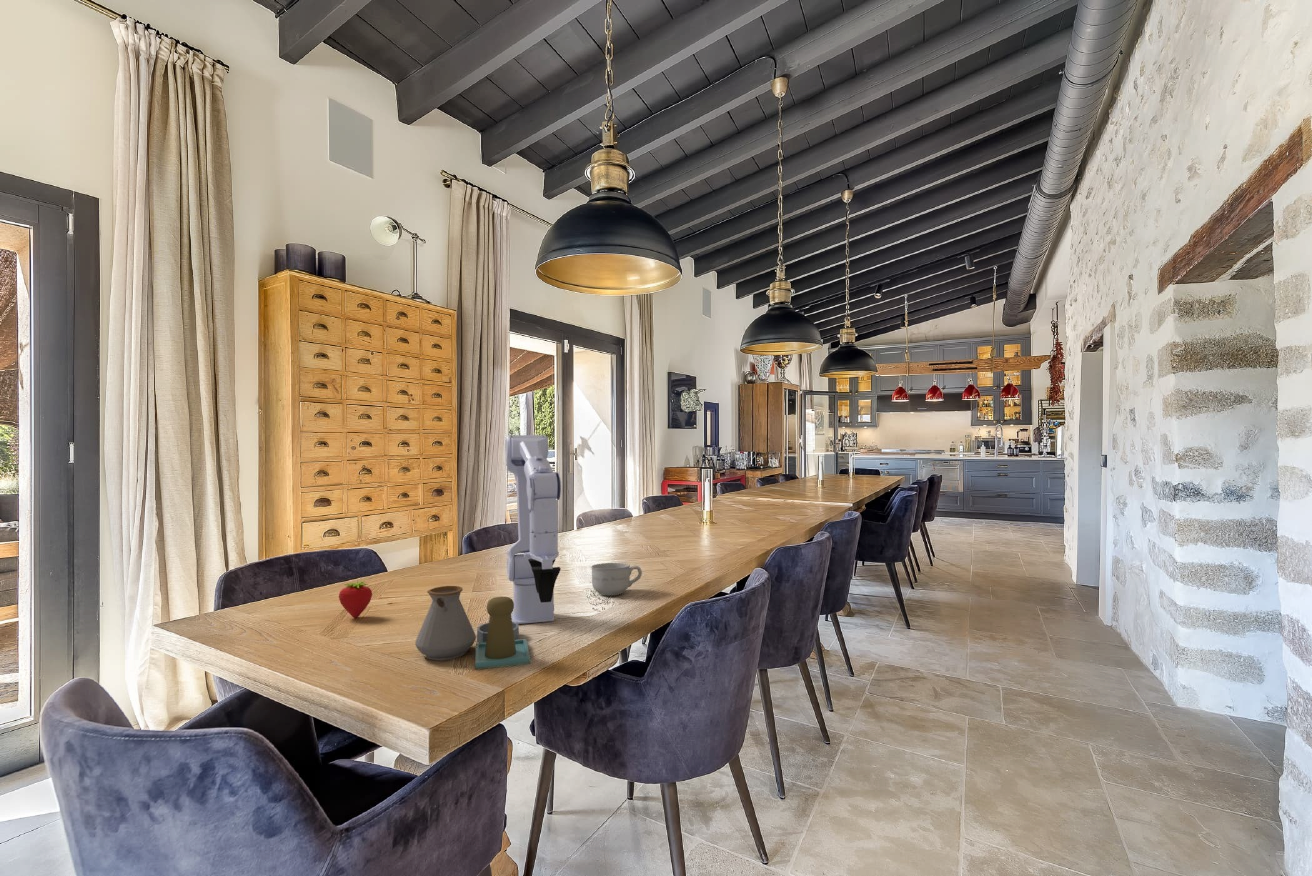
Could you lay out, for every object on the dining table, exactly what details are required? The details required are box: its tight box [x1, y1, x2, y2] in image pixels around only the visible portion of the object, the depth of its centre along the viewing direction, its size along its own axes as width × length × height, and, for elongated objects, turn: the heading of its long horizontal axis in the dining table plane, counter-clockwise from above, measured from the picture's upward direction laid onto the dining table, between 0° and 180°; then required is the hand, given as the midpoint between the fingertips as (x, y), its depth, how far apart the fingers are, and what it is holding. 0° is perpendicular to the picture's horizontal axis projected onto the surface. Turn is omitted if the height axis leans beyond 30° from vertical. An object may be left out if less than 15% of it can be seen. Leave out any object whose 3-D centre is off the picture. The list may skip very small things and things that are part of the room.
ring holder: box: [476, 622, 520, 643], centre depth 130 cm, size 9×9×2 cm
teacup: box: [590, 562, 643, 596], centre depth 167 cm, size 14×11×8 cm
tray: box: [474, 638, 531, 670], centre depth 119 cm, size 10×11×1 cm
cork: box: [485, 596, 516, 659], centre depth 119 cm, size 6×6×11 cm
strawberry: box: [338, 581, 373, 619], centre depth 145 cm, size 6×8×10 cm
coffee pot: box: [415, 585, 477, 661], centre depth 116 cm, size 21×12×15 cm, turn 14°
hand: (543, 596), depth 125 cm, fingers open, 7 cm apart
